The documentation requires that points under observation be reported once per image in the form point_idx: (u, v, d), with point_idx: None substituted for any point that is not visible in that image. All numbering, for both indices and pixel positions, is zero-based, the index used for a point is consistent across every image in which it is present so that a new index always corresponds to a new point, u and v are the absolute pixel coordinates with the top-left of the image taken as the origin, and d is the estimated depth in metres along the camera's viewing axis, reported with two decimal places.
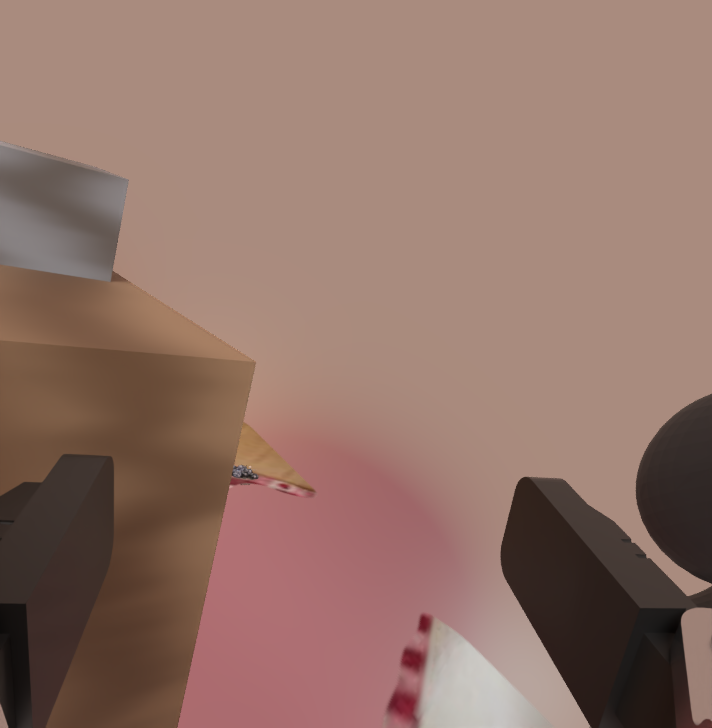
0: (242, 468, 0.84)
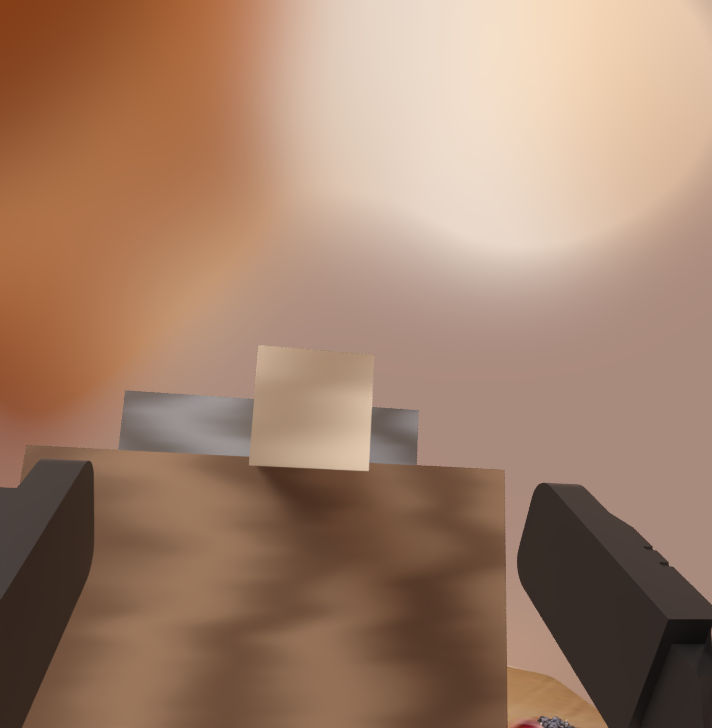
0: (557, 720, 0.78)
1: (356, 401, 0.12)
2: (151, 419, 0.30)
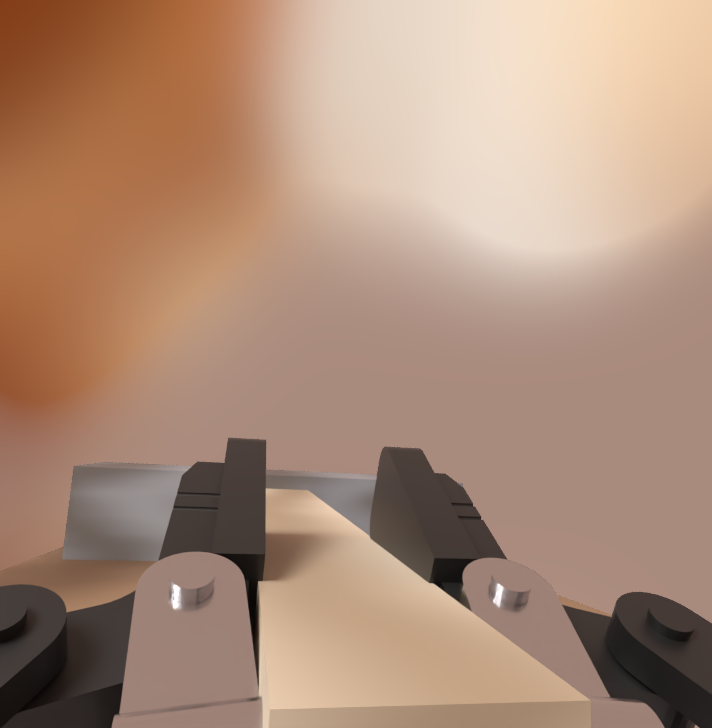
0: None
1: None
2: (109, 504, 0.22)
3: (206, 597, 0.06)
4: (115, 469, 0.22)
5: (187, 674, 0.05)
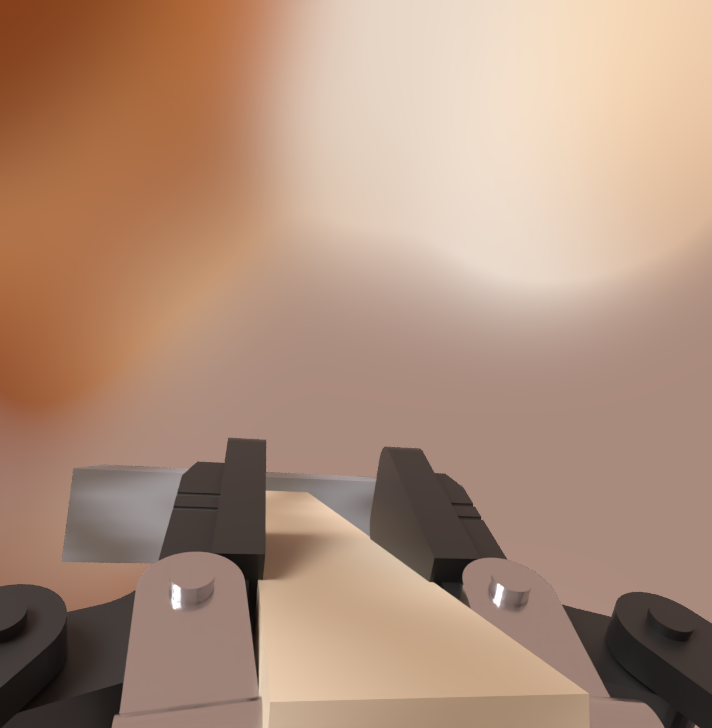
0: None
1: None
2: (109, 507, 0.22)
3: (206, 597, 0.06)
4: (115, 471, 0.22)
5: (187, 674, 0.05)
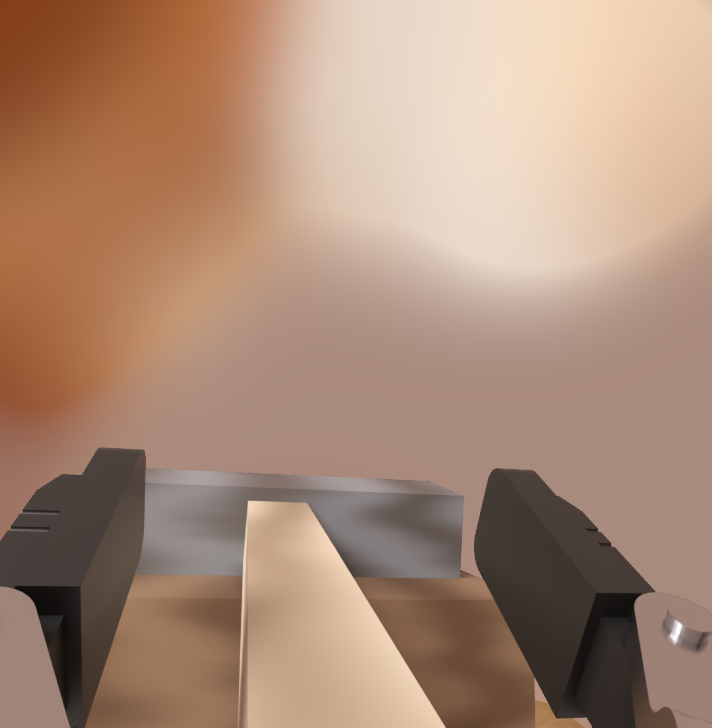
0: None
1: None
2: None
3: None
4: None
5: None
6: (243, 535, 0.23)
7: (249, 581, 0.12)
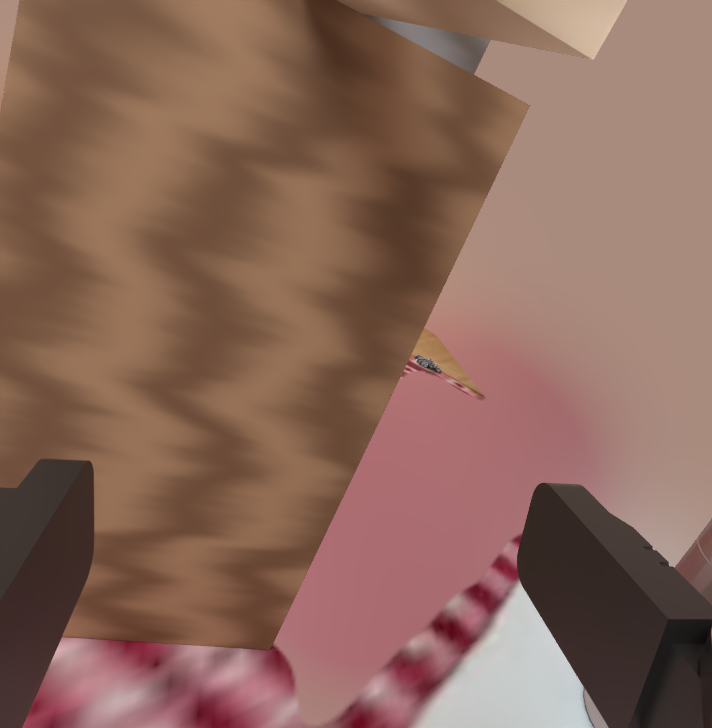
0: (429, 361, 0.97)
1: None
2: None
3: None
4: None
5: None
6: None
7: None
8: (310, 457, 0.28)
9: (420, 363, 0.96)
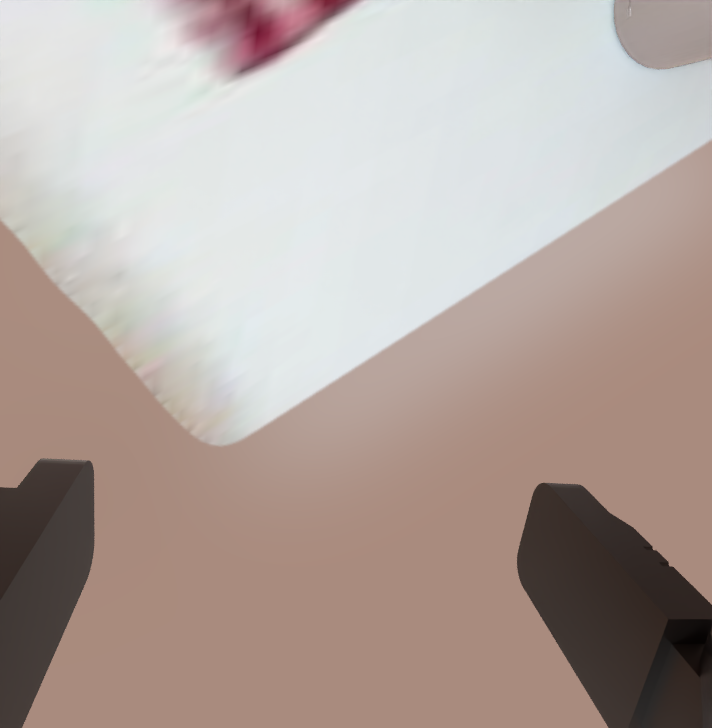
0: None
1: None
2: None
3: None
4: None
5: None
6: None
7: None
8: None
9: None
